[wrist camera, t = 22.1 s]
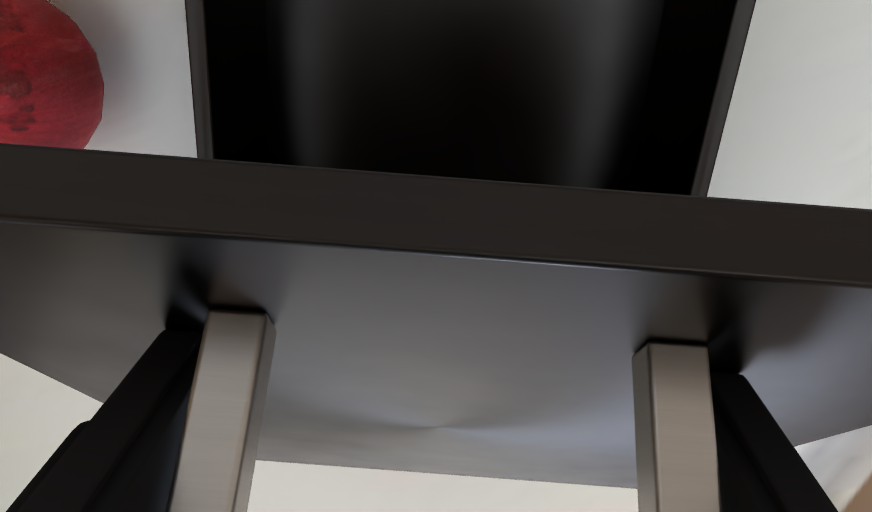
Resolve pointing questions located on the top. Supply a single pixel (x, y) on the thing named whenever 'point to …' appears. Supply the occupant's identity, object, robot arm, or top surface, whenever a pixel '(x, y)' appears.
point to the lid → (435, 316)
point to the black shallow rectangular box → (471, 87)
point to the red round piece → (46, 77)
